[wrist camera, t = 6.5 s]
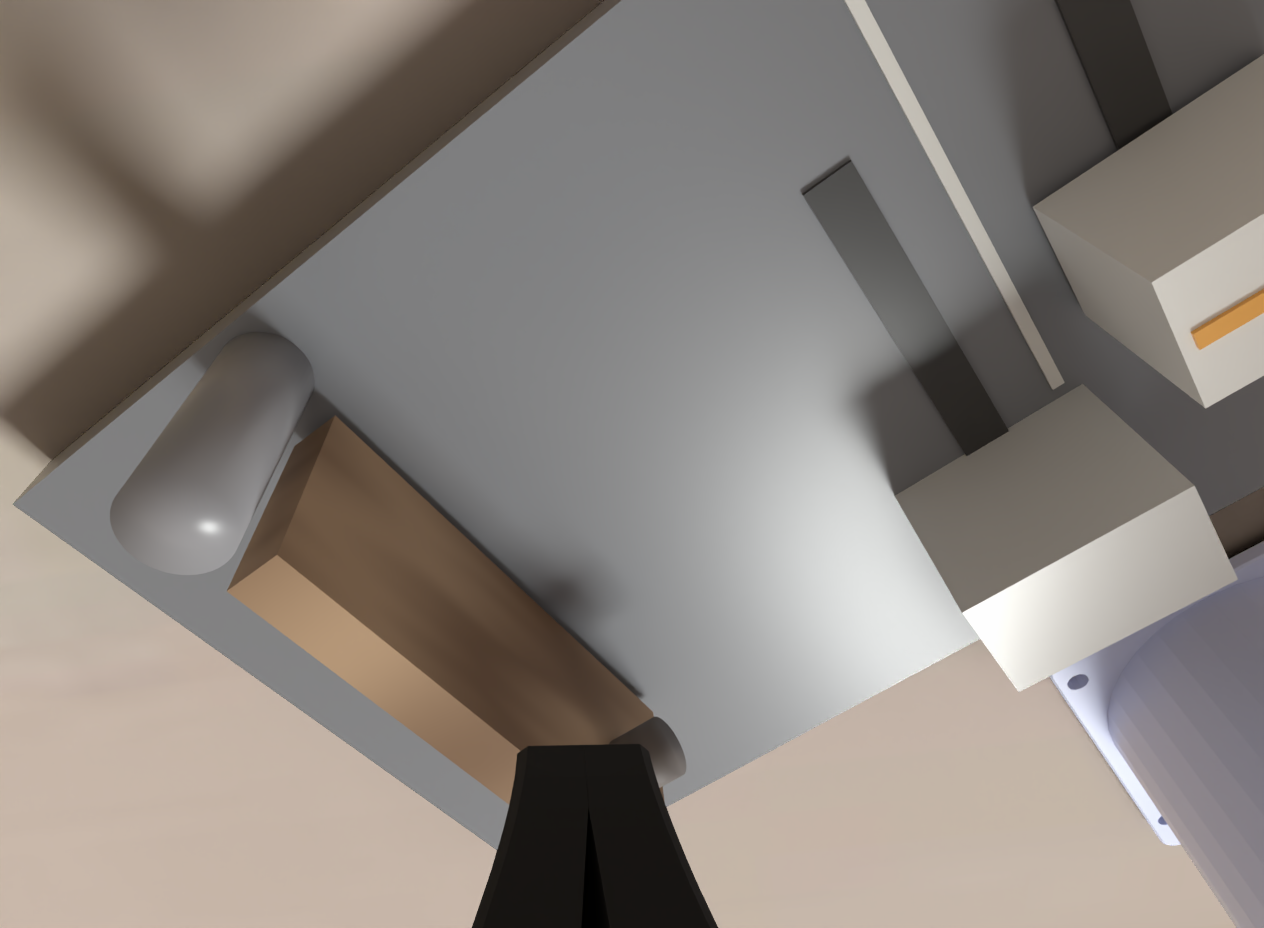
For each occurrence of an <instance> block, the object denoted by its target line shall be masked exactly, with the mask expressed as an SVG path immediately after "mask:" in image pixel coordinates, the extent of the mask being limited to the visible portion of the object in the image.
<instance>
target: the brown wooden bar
mask: <svg viewBox="0 0 1264 928" xmlns="http://www.w3.org/2000/svg"><path fill="white" fill-rule="evenodd" d="M227 592H228V593H230V594H231V595H232V596H234V597H235V598H236V599H238V600H239V601H240V602H242V603H243V604H244V605H246V606H247V607H248V608H250V609H251V610H252V611H253V612H255V613H256V614H257V615H259V616H260V617H261V618H263V619H264V620H265V621H267V622H268V623H269V624H271V625H272V626H273V627H275V628H276V629H277V630H279V631H280V632H281V633H283V634H284V635H285V636H287V637H288V638H289V639H291V640H292V641H293V642H294V643H296V644H297V645H298V646H300V647H301V648H302V649H304V650H305V651H306V652H308V653H309V654H310V655H312V656H313V657H314V658H316V659H317V660H318V661H320V662H321V663H322V664H324V665H325V666H326V667H328V668H329V669H330V670H332V671H333V672H334V673H335V674H337V675H338V676H339V677H341V678H342V679H343V680H345V681H346V682H347V683H349V684H350V685H351V686H353V687H354V688H355V689H357V690H358V691H359V692H361V693H362V694H363V695H365V696H366V697H367V698H369V699H370V700H371V701H372V702H374V703H375V704H376V705H378V706H379V707H380V708H382V709H383V710H384V711H386V712H387V713H388V714H390V715H391V716H392V717H394V718H395V719H396V720H398V721H399V722H400V723H402V724H403V725H404V726H406V727H407V728H408V729H410V730H411V731H412V732H413V733H415V734H416V735H417V736H419V737H420V738H421V739H423V740H424V741H425V742H427V743H428V744H429V745H431V746H432V747H433V748H435V749H436V750H437V751H439V752H440V753H441V754H443V755H444V756H445V757H447V758H448V759H449V760H451V761H452V762H453V763H454V764H456V765H457V766H458V767H460V768H461V769H462V770H464V771H465V772H466V773H468V774H469V775H470V776H472V777H473V778H474V779H476V780H477V781H478V782H480V783H481V784H482V785H484V786H485V787H486V788H488V789H489V790H490V791H491V792H493V793H494V794H495V795H497V796H498V797H499V798H501V799H502V800H503V801H505V802H506V803H507V804H509V803H510V799H511V794H512V788H513V783H514V777H515V770H516V760H517V753H519V752H520V751H521V750H523V749H524V748H526V747H527V746H550V745H603V744H641V745H642V746H643V747H644V748H646V749H647V750H648V751H649V754H650V758H651V762H652V765H653V769H654V772H655V775H656V778H657V782H658V785H659V788H660V791H661V794H662V797H663V800H664V794H663V786H664V785H666V784H668V783H670V782H672V781H673V780H675V779H677V778H679V777H681V776H683V775H684V774H685V772H686V759H685V755H684V752H683V749H682V747H681V745H680V743H679V741H678V739H677V737H676V735H675V734H674V732H673V731H672V729H671V728H670V727H669V725H668V724H667V723H666V722H665V721H664V720H662V719H661V718H659V717H654V715H653V711H652V710H651V709H649V708H648V707H647V706H646V705H645V704H644V703H643V702H642V701H641V700H640V699H639V698H638V697H637V696H636V695H634V694H633V693H632V692H631V691H630V690H629V689H628V688H627V687H626V686H625V685H624V684H623V683H622V682H621V681H619V680H618V679H617V678H616V677H615V676H614V675H613V674H612V673H611V672H610V671H609V670H608V669H607V668H606V667H604V666H603V665H602V664H601V663H600V662H599V661H598V660H597V659H596V658H595V657H594V656H593V655H592V654H591V653H589V652H588V651H587V650H586V649H585V648H584V647H583V646H582V645H581V644H580V643H579V642H578V641H577V640H576V639H574V638H573V637H572V636H571V635H570V634H569V633H568V632H567V631H566V630H565V629H564V628H563V627H562V626H560V625H559V624H558V623H557V622H556V621H555V620H554V619H553V618H552V617H551V616H550V615H549V614H548V613H547V612H545V611H544V610H543V609H542V608H541V607H540V606H539V605H538V604H537V603H536V602H535V601H534V600H533V599H532V598H530V597H529V596H528V595H527V594H526V593H525V592H524V591H523V590H522V589H521V588H520V587H519V586H518V585H517V584H515V583H514V582H513V581H512V580H511V579H510V578H509V577H508V576H507V575H506V574H505V573H504V572H503V571H502V570H500V569H499V568H498V567H497V566H496V565H495V564H494V563H493V562H492V561H491V560H490V559H489V558H488V557H487V556H485V555H484V554H483V553H482V552H481V551H480V550H479V549H478V548H477V547H476V546H475V545H474V544H473V543H472V542H470V541H469V540H468V539H467V538H466V537H465V536H464V535H463V534H462V533H461V532H460V531H459V530H458V529H457V528H455V527H454V526H453V525H452V524H451V523H450V522H449V521H448V520H447V519H446V518H445V517H444V516H443V515H442V514H440V513H439V512H438V511H437V510H436V509H435V508H434V507H433V506H432V505H431V504H430V503H429V502H428V501H427V500H425V499H424V498H423V497H422V496H421V495H420V494H419V493H418V492H417V491H416V490H415V489H414V488H413V487H412V486H410V485H409V484H408V483H407V482H406V481H405V480H404V479H403V478H402V477H401V476H400V475H399V474H398V473H397V472H395V471H394V470H393V469H392V468H391V467H390V466H389V465H388V464H387V463H386V462H385V461H384V460H383V459H382V458H380V457H379V456H378V455H377V454H376V453H375V452H374V451H373V450H372V449H371V448H370V447H369V446H368V445H367V444H365V443H364V442H363V441H362V440H361V439H360V438H359V437H358V436H357V435H356V434H355V433H354V432H353V431H352V430H350V429H349V428H348V427H347V426H346V425H345V424H344V423H343V422H342V421H341V420H340V419H339V418H338V417H337V416H334V417H332V418H331V419H330V420H328V421H327V422H326V423H324V424H323V425H322V426H320V427H319V428H318V429H316V430H315V431H314V432H312V433H311V434H310V435H308V436H307V437H306V438H305V439H303V440H302V441H301V442H299V443H298V444H297V445H295V446H294V448H293V450H292V452H291V455H290V457H289V459H288V461H287V463H286V465H285V467H284V470H283V472H282V474H281V476H280V478H279V480H278V482H277V485H276V487H275V489H274V491H273V493H272V495H271V497H270V499H269V502H268V504H267V506H266V508H265V510H264V512H263V514H262V517H261V519H260V521H259V523H258V525H257V527H256V529H255V532H254V534H253V536H252V538H251V540H250V542H249V544H248V547H247V549H246V551H245V553H244V555H243V557H242V559H241V562H240V564H239V566H238V568H237V570H236V572H235V574H234V577H233V579H232V581H231V583H230V585H229V587H228V589H227ZM664 803H665V801H664Z"/></svg>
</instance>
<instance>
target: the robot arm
mask: <svg viewBox="0 0 1264 928" xmlns="http://www.w3.org/2000/svg"><path fill="white" fill-rule="evenodd" d="M1229 561H1230V563H1231V565H1232V567H1233V569H1234V572H1235V574H1236V576H1237V578H1238V580H1236V581H1234V582H1232V583H1230V584H1228V585H1227V586H1225V587H1223V588H1221V589H1219V590H1217V591H1215V592H1213V593H1211V594H1209V595H1207V596H1205V597H1203V598H1201V599H1199V600H1197V601H1195V602H1193V603H1191V604H1190V605H1188V606H1186V607H1184V608H1182V609H1180V610H1178V611H1176V612H1174V613H1172V614H1170V615H1168V616H1166V617H1164V618H1162V619H1160V620H1158V621H1156V622H1154V623H1153V624H1151V625H1149V626H1147V627H1145V628H1143V629H1141V630H1139V631H1137V632H1135V633H1133V634H1131V635H1129V636H1127V637H1125V638H1123V639H1121V640H1119V641H1117V642H1116V643H1114V644H1112V645H1110V646H1108V647H1106V648H1104V649H1102V650H1100V651H1098V652H1096V653H1094V654H1092V655H1090V656H1088V657H1086V658H1084V659H1082V660H1080V661H1079V662H1077V663H1075V664H1073V665H1071V666H1069V667H1067V668H1065V669H1063V670H1061V671H1059V672H1057V673H1055V674H1053V675H1051V676H1049V677H1050V678H1051V680H1052V681H1053V683H1054V684H1055V686H1056V687H1057V689H1058V690H1059V692H1060V693H1061V695H1062V696H1063V698H1064V699H1065V701H1066V702H1067V704H1068V705H1069V706H1070V708H1071V709H1072V711H1073V712H1074V714H1075V715H1076V717H1077V718H1078V720H1079V721H1080V723H1081V724H1082V726H1083V727H1084V729H1085V730H1086V732H1087V733H1088V735H1089V736H1090V738H1091V739H1092V740H1093V742H1094V743H1095V745H1096V746H1097V748H1098V749H1099V751H1100V752H1101V754H1102V755H1103V757H1104V758H1105V760H1106V761H1107V763H1108V764H1109V766H1110V767H1111V769H1112V770H1113V771H1114V773H1115V774H1116V776H1117V777H1118V779H1119V780H1120V782H1121V783H1122V785H1123V786H1124V788H1125V789H1126V791H1127V792H1128V794H1129V795H1130V797H1131V798H1132V800H1133V801H1134V803H1135V804H1136V805H1137V807H1138V808H1139V810H1140V811H1141V813H1142V814H1143V816H1144V817H1145V819H1146V820H1147V822H1148V823H1149V825H1150V826H1151V828H1152V829H1153V831H1154V832H1155V834H1156V835H1157V837H1158V838H1159V839H1160V841H1161V842H1162V843H1163V844H1166V845H1171V846H1172V845H1179V844H1181V845H1182V847H1183V848H1184V850H1185V851H1186V853H1187V854H1188V856H1189V857H1190V859H1191V860H1192V862H1193V863H1194V865H1195V866H1196V868H1197V869H1198V871H1199V872H1200V874H1201V875H1202V877H1203V878H1204V880H1205V881H1206V883H1207V884H1208V886H1209V887H1210V889H1211V890H1212V892H1213V893H1214V895H1215V896H1216V898H1217V899H1218V901H1219V902H1220V904H1221V905H1222V907H1223V908H1224V910H1225V911H1226V913H1227V914H1228V916H1229V917H1230V919H1231V920H1232V922H1233V923H1234V925H1235V926H1236V928H1264V541H1262V542H1261V543H1259V544H1257V545H1255V546H1253V547H1251V548H1249V549H1247V550H1245V551H1243V552H1241V553H1239V554H1238V555H1236V556H1234V557H1232V558H1230V559H1229ZM1073 676H1074V677H1073ZM472 928H718V927H717V924H716V922H715V920H714V918H713V916H712V914H711V912H710V910H709V908H708V906H707V903H706V901H705V899H704V897H703V895H702V893H701V891H700V889H699V886H698V884H697V882H696V880H695V877H694V875H693V873H692V870H691V868H690V866H689V864H688V861H687V859H686V856H685V854H684V851H683V849H682V847H681V844H680V842H679V839H678V837H677V834H676V832H675V829H674V827H673V824H672V822H671V819H670V816H669V814H668V811H667V808H666V805H665V803H664V800H663V797H662V794H661V791H660V788H659V785H658V782H657V778H656V775H655V772H654V769H653V765H652V762H651V758H650V754H649V751H648V750H647V749H646V748H644V747H643V746H642V745H641V744H603V745H550V746H527V747H526V748H524V749H523V750H521V751H520V752H519V753H517V760H516V770H515V777H514V783H513V788H512V794H511V799H510V803H509V808H508V812H507V816H506V820H505V824H504V828H503V832H502V835H501V839H500V842H499V846H498V849H497V853H496V856H495V860H494V863H493V867H492V870H491V873H490V876H489V879H488V882H487V885H486V888H485V891H484V894H483V897H482V900H481V903H480V905H479V908H478V911H477V914H476V917H475V920H474V923H473V926H472Z"/></svg>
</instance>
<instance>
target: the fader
mask: <svg viewBox="0 0 1264 928" xmlns="http://www.w3.org/2000/svg"><path fill="white" fill-rule="evenodd" d="M1033 209H1034V211H1035V213H1036V215H1037V217H1038V219H1039V221H1040V223H1041V225H1042V227H1043V229H1044V231H1045V234H1046V236H1047V238H1048V240H1049V242H1050V244H1051V246H1052V248H1053V250H1054V252H1055V254H1056V256H1057V258H1058V260H1059V262H1060V264H1061V267H1062V269H1063V271H1064V273H1065V275H1066V277H1067V279H1068V281H1069V283H1070V285H1071V287H1072V289H1073V291H1074V293H1075V295H1076V297H1077V300H1078V302H1079V304H1080V306H1081V308H1082V310H1083V312H1084V314H1085V315H1086V316H1087V317H1088V318H1090V319H1091V320H1092V321H1093V322H1095V323H1096V324H1097V325H1099V326H1100V327H1101V328H1103V329H1104V330H1105V331H1106V332H1108V333H1109V334H1110V335H1112V336H1113V337H1114V338H1115V339H1117V340H1118V341H1119V342H1121V343H1122V344H1123V345H1124V346H1126V347H1127V348H1128V349H1130V350H1131V351H1132V352H1133V353H1135V354H1136V355H1137V356H1139V357H1140V358H1141V359H1142V360H1144V361H1145V362H1146V363H1148V364H1149V365H1150V366H1151V367H1153V368H1154V369H1155V370H1157V371H1158V372H1159V373H1160V374H1162V375H1163V376H1164V377H1166V378H1167V379H1168V380H1169V381H1171V382H1172V383H1173V384H1175V385H1176V386H1177V387H1178V388H1180V389H1181V390H1182V391H1184V392H1185V393H1186V394H1188V395H1189V396H1190V397H1191V398H1193V399H1194V400H1195V401H1197V402H1198V403H1199V404H1200V405H1202V406H1203V407H1204V408H1208V407H1209V406H1211V405H1213V404H1215V403H1216V402H1218V401H1220V400H1222V399H1223V398H1225V397H1227V396H1229V395H1230V394H1232V393H1234V392H1236V391H1237V390H1239V389H1241V388H1243V387H1245V386H1246V385H1248V384H1250V383H1252V382H1253V381H1255V380H1257V379H1259V378H1260V377H1262V376H1264V54H1263V55H1262V56H1260V57H1259V58H1257V59H1256V60H1254V61H1253V62H1251V63H1250V64H1248V65H1247V66H1245V67H1244V68H1242V69H1241V70H1239V71H1238V72H1236V73H1235V74H1233V75H1231V76H1230V77H1228V78H1227V79H1225V80H1224V81H1222V82H1221V83H1219V84H1218V85H1216V86H1215V87H1213V88H1212V89H1210V90H1209V91H1207V92H1206V93H1204V94H1203V95H1201V96H1200V97H1198V98H1197V99H1195V100H1194V101H1192V102H1191V103H1189V104H1188V105H1186V106H1185V107H1183V108H1181V109H1180V110H1178V111H1177V112H1175V113H1174V114H1172V115H1171V116H1169V117H1168V118H1166V119H1165V120H1163V121H1162V122H1160V123H1159V124H1157V125H1156V126H1154V127H1153V128H1151V129H1150V130H1148V131H1147V132H1145V133H1144V134H1142V135H1141V136H1139V137H1138V138H1136V139H1135V140H1133V141H1132V142H1130V143H1128V144H1127V145H1125V146H1124V147H1122V148H1121V149H1119V150H1118V151H1116V152H1115V153H1113V154H1112V155H1110V156H1109V157H1107V158H1106V159H1104V160H1103V161H1101V162H1100V163H1098V164H1097V165H1095V166H1094V167H1092V168H1091V169H1089V170H1088V171H1086V172H1085V173H1083V174H1082V175H1080V176H1078V177H1077V178H1075V179H1074V180H1072V181H1071V182H1069V183H1068V184H1066V185H1065V186H1063V187H1062V188H1060V189H1059V190H1057V191H1056V192H1054V193H1053V194H1051V195H1050V196H1048V197H1047V198H1045V199H1044V200H1042V201H1041V202H1039V203H1038V204H1036V205H1035V206H1033Z"/></svg>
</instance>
